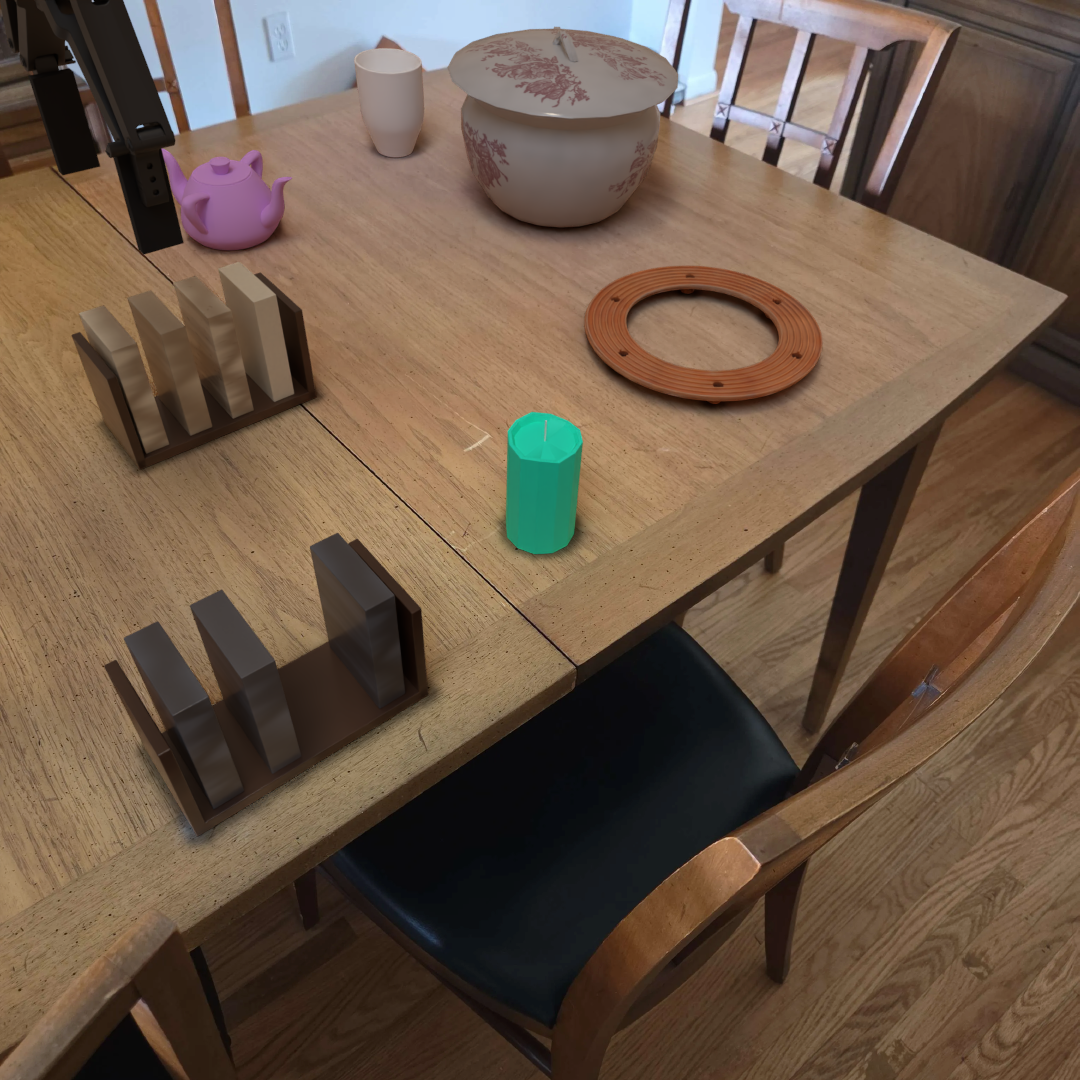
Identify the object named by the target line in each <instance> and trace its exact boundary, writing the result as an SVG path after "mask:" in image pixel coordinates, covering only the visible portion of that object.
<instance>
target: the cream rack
mask: <svg viewBox="0 0 1080 1080" xmlns="http://www.w3.org/2000/svg"><path fill="white" fill-rule="evenodd" d="M253 274H254V275H255V276H256V277H257V278H258V279H259V280H260V281H261V282H263V283H264V284H265V285H266V286H267V287H268V288H269V289H270V290H271V291H272V292H273V293H275V294H276V298H277V303H278V308H279V314H280V319H281V325H282V330H283V335H284V341H285V346H286V351H287V357H288V362H289V368H290V373H291V378H292V384H293V389H294V394H293V395H291V396H288V397H286V398H283V399H281V400H278V401H276V402H274V401H273V400H272V399H271V398H270V397H269V396H268V395H267V394H266V393H265V392H264V391H263V390H262V389H261V388H260V387H259V386H258V385H257V384H256V383H255V381H254V380H253V379H252V378H251V377H250V376H249V375H248V374H247V373H246V372H245V369H244V365H243V360H242V356H241V352H240V347H239V343H238V339H237V334H236V330H235V325H234V321H233V317H232V312H231V310H230V309H229V308H228V307H227V306H226V303H225V302H224V301H222V300H221V299H220V298H219V296H217V295H216V294H215V293H214V292H213V291H212V290H211V288H209V287H208V286H207V285H206V283H204V282H203V281H202V280H201V279H200V278H199V277H198V276H197V275H194V276H190V277H187V278H184V279H181V280H178V281H175V282H173V284H172V285H173V288H174V292H175V295H176V299H177V303H178V306H179V309H180V314H181V317H182V318H181V319H182V321H183V322H181V320H180V319H179V318H178V317H177V316H176V314H174V313H173V312H172V311H171V310H170V309H169V307H168V306H167V305H165V303H164V302H163V301H162V300H161V299H160V298H159V297H158V296H157V295H156V294H155V292H153V291H152V290H151V289H150V290H147V291H144V292H140V293H138V294H137V293H136V294H134V295H130V296H128V297H127V298H126V299H127V303H128V306H129V309H130V312H131V315H132V318H133V321H134V325H135V328H136V331H137V334H138V337H139V340H140V343H141V346H142V350H143V353H144V357H145V359H146V362H147V365H148V368H149V372H150V374H151V375H150V376H151V378H152V381H153V384H154V387H155V391H156V394H157V395H154V391H153V389H152V386H151V383H150V380H149V376H148V374H147V371H146V368H145V364H144V361H143V357H142V354H141V352H140V349H139V346H138V343H137V342H136V340H135V339H134V337H132V336H131V334H130V333H129V332H128V331H127V330H126V328H125V327H124V326H123V325H122V324H121V323H120V321H118V319H117V318H116V317H115V316H114V315H113V313H111V311H110V310H109V309H108V308H107V307H106V306H105V305H100V306H97V307H94V308H90V309H88V310H84V311H80V312H79V313H78V315H79V318H80V321H81V324H82V326H83V329H84V331H85V334H86V337H87V338H86V337H85V335H84V334H83V333H82V332H80V331H79V332H75V333H73V334H71V338H72V341H73V343H74V346H75V348H76V352H77V354H78V356H79V359H80V361H81V364H82V367H83V369H84V373H85V375H86V378H87V380H88V382H89V385H90V388H91V390H92V394H93V396H94V399H95V402H96V404H97V406H98V410H99V411H100V414H101V417H102V420H103V422H104V425H105V426H106V427H107V429H108V430H109V431H110V433H111V434H112V436H113V437H114V438H115V439H116V440H117V442H118V443H119V445H120V446H121V448H122V449H123V450H124V451H125V453H126V454H127V455H128V457H129V458H130V459H131V461H132V462H133V464H135V466H136V467H137V469H138V470H140V471H141V470H144V469H145V468H149V467H150V466H153V465H155V464H158V463H160V462H162V461H165V460H167V459H169V458H172V457H174V456H177V455H179V454H182V453H185V452H187V451H189V450H192V449H194V448H197V447H199V446H202V445H204V444H206V443H208V442H211V441H214V440H216V439H218V438H221V437H224V436H226V435H228V434H231V433H234V432H235V431H238V430H241V429H243V428H245V427H248V426H250V425H253V424H256V423H257V422H260V421H263V420H265V419H267V418H270V417H272V416H275V415H277V414H279V413H282V412H284V411H287V410H289V409H292V408H294V407H297V406H299V405H301V404H304V403H307V402H309V401H311V400H313V399H316V398H317V392H316V385H315V381H314V380H315V379H314V373H313V368H312V362H311V355H310V349H309V343H308V338H307V332H306V326H305V325H306V324H305V319H304V313H303V309H302V308H301V307H300V306H299V305H298V304H297V303H295V302H294V301H293V300H292V299H291V298H290V297H289V296H287V294H285V292H283V290H281V289H280V287H279V288H278V286H276V285H275V284H274V283H273V282H272V281H271V280H270V279H269V278H268V277H267V276H265V275H264V274H263V273H262V272H261V271H260V272H256V273H253Z"/></svg>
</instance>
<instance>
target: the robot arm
mask: <svg viewBox="0 0 1080 1080" xmlns="http://www.w3.org/2000/svg"><path fill="white" fill-rule="evenodd" d="M0 10H1V15H2V20H3V26H4V29H5V36H6V43H7V46H8V47H9V49H11V51H12V52H13V54H18V56H19V63H20V65H21V66H22V67H23V68H24V70H25V71H26V72H27V73H30V72H32V74H30V75H27V77H28V80H29V83H30V86H31V90H32V93H33V95H34V99H35V101H36V104H37V105H36V106H37V108H38V111H39V114H40V117H41V121H42V124H43V127H44V129H45V133H46V136H47V140H48V142H49V146H50V149H51V151H52V154H53V158H54V161H55V164H56V167H57V171H58V172H59V174H60V175H61V176H68V175H71V174H74V173H75V174H76V173H79V172H85V171H88V170H92V169H96V168H101V163H100V160H99V157H98V153H97V150H96V146H95V143H94V139H93V135H92V131H91V129H90V125H89V122H88V118H87V115H86V111H85V108H84V104H83V101H82V97H81V94H80V90H79V87H78V83H77V79H76V77H75V73H74V71H73V70H72V69H71V68H69V67H68V68H62V69H60V68H59V67H62V66H67V65H73V64H76V63H77V65H78V67H79V69H80V71H81V73H82V75H83V77H84V80H85V82H86V84H87V86H88V88H89V90H90V92H91V94H92V96H93V99H94V101H95V103H96V105H97V108H98V109H99V112H100V114H101V115H102V117H103V120H104V122H105V123H106V126H107V128H108V130H109V133H110V135H111V136H112V139H113V141H111V142H107V145H106V147H105V150H104V151H105V153H106V155H107V157H108V158H110V159H113V163H114V167H115V169H116V173H117V176H118V181H119V184H120V187H121V191H122V194H123V199H124V203H125V206H126V209H127V213H128V217H129V221H130V224H131V227H132V231H133V235H134V239H135V242H136V246H137V249H138V251H139V252H140V253H141V254H142V255H147V254H151V253H154V252H158V251H162V250H165V249H168V248H171V247H175V246H178V245H183V244H184V238H183V234H182V230H181V226H180V221H179V216H178V213H177V208H176V204H175V200H174V199H175V198H174V195H173V193H172V189H171V185H170V179H169V173H168V169H167V166H166V163H165V161H164V157H163V153H162V148H163V149H166V148H170V147H173V146H175V145H176V136H175V132H174V130H173V129H172V126H171V123H170V121H169V118H168V115H167V113H166V110H165V107H164V105H163V102H162V99H161V97H160V95H159V91H158V89H157V86H156V84H155V81H154V79H153V76H152V73H151V70H150V68H149V65H148V62H147V60H146V57H145V55H144V52H143V49H142V47H141V44H140V41H139V39H138V35H137V33H136V31H135V28H134V25H133V22H132V20H131V17H130V15H129V12H128V9H127V7H126V4H125V1H124V0H0ZM66 42H67V44H68V45H69V46H68V45H66ZM69 48H70V49H69ZM73 59H74V60H73ZM140 126H141V127H140Z"/></svg>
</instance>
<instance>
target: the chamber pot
mask: <svg viewBox="0 0 1080 1080" xmlns="http://www.w3.org/2000/svg"><path fill="white" fill-rule="evenodd" d="M447 71H448V74H449V77H450V79H451V82H452V84H454V85H455V86H457V87H458V88H459V89H460V90H462V91H463V92H464V93H465V94H466V96H465V98H464V101H463V103H462V105H461V107H460V120H461V121H460V126H461V129H460V130H461V134H462V138H463V143H464V148H465V152H466V157H467V160H468V164H469V166H470V170H471V173H472V174H473V176H474V177H475V179H476V181H477V182H478V184H479V185H480V186H481V188H482V190H483V191H484V193H485V194H486V196H487V198H488V199H489V200H490V201H491V202H492V203H493V204H494V205H495V206H496V207H497V208H499V209H500V210H501V211H502V212H503V213H504V214H506V215H508V216H510V217H512V218H514V219H516V220H518V221H520V222H524V223H528V224H532V225H535V226H542V227H550V228H551V227H552V228H573V227H574V228H575V227H584V226H588V225H591V224H597V223H600V222H602V221H604V220H606V219H608V218H610V217H611V216H613V215H614V214H616V213H617V212H618V211H620V209H621V208H622V207H623V206H624V205H625V204H626V203H627V202H628V200H629V199H630V198H631V197H632V196H633V194H634V193H635V192H636V191H637V189H638V188H639V186H640V185H641V184H642V183H643V181H644V180H645V179H646V178H647V177H648V174H649V171H650V168H651V165H652V162H653V160H654V157H655V153H656V151H657V148H658V141H659V133H660V127H661V111H660V109H659V106H658V105H660V104H662V103H664V102H665V101H666V100H667V99H668V98H670V96H671V95H672V94H673V93H674V92H675V91H676V90H678V88H679V73H678V72H677V70H676V69H675V67H673V65H672V64H671V63H670V62H669V60H668V59H667V58H666V57H665V56H663V55H661V54H660V53H658V52H657V51H655V50H653V49H651V48H649V47H648V46H645V45H642V44H640V43H637V42H634V41H632V40H629V39H625V38H622V37H619V36H615V35H610V34H605V33H600V32H595V31H589V30H583V29H582V30H581V29H570V28H561V26H554V27H553V28H529V29H522V30H521V29H520V30H514V31H508V32H507V31H506V32H502V33H495V34H492V35H489V36H485V37H483V38H479V39H476V40H473V41H471V42H470V43H468V44H467V45H465V46H463V47H462V48H460V49H459V50H457V51H455V53H454V54H453V56H452V58H451V59H450V62H449V63H448V66H447Z"/></svg>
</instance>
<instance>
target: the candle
mask: <svg viewBox="0 0 1080 1080" xmlns="http://www.w3.org/2000/svg"><path fill="white" fill-rule="evenodd" d="M506 437H507V438H506V439H507V441H506V442H507V443H506V444H507V445H506V490H505V491H506V493H505V530H506V538H507V540H509V541H510V542H511V543H512V544H513V545H514V546H515V547H516V548H517V549H519V550H521V551H524V552H527V553H530V554H532V555H545V554H555V553H556V552H558V551H561V550H562V549H564V548H566V547H568V545H569V543H570V542H571V540H572V539H573V537H574V535H575V529H576V519H577V509H578V508H577V507H578V497H579V488H580V487H579V486H580V478H581V477H580V476H581V467H582V457H583V448H584V447H583V445H584V441H583V436H582V432H581V429H580V428H578V427H577V426H576V425H575V424H573V423H572V422H571V421H569V420H567V419H565V418H563V417H560V416H558V415H556V414H553V413H549V412H539V411H538V412H537V411H531V412H529V413H527V414H524V415H523V416H521V417H519V418H517V419H515V421H514V422H513V423H512V424H511V426H510V427H509V428H508V430H507V435H506Z"/></svg>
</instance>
